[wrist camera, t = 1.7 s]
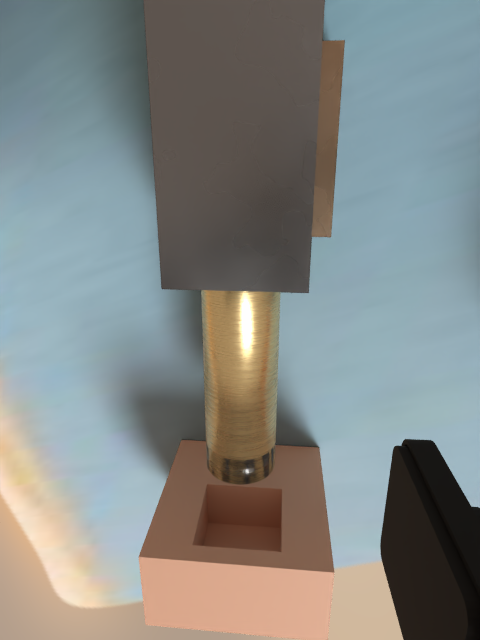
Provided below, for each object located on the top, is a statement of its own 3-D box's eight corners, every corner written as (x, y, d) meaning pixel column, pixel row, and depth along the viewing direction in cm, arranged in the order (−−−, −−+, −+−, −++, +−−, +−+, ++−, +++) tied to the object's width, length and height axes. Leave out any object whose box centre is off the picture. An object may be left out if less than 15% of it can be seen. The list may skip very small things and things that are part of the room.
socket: (181, 439, 26) (138, 557, 18) (319, 447, 25) (334, 572, 18) (184, 494, 28) (145, 625, 20) (315, 503, 27) (327, 641, 19)
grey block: (171, 34, 19) (100, -42, 12) (337, 30, 18) (372, -54, 11) (180, 244, 22) (129, 288, 15) (323, 247, 22) (343, 294, 14)
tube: (202, 54, 16) (184, 31, 13) (287, 52, 15) (288, 28, 13) (212, 439, 21) (201, 482, 18) (275, 442, 21) (274, 486, 18)
